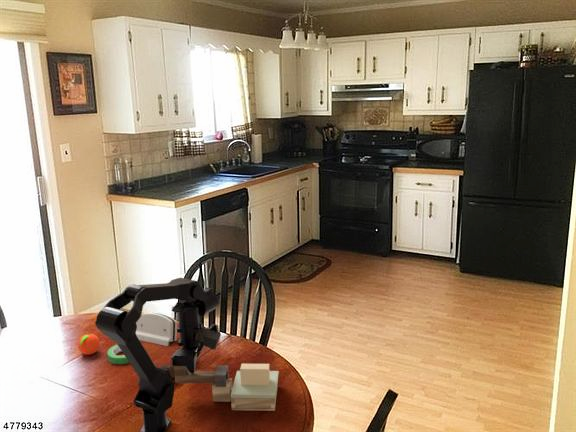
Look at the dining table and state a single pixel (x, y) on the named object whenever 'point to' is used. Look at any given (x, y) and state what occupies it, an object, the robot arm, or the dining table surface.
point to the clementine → (88, 344)
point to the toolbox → (223, 394)
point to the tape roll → (116, 356)
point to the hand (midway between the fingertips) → (192, 372)
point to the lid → (255, 382)
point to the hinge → (156, 328)
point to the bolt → (169, 369)
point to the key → (193, 376)
